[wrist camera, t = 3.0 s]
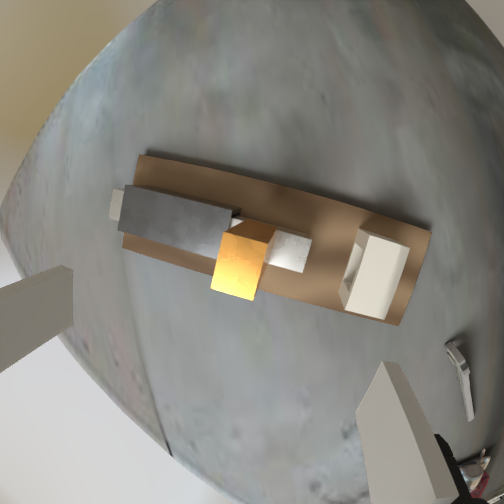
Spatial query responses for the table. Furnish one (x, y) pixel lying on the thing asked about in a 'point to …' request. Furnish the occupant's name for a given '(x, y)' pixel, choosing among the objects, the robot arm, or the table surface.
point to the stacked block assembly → (247, 251)
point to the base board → (291, 217)
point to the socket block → (372, 274)
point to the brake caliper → (475, 474)
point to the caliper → (462, 377)
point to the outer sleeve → (175, 218)
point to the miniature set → (494, 499)
